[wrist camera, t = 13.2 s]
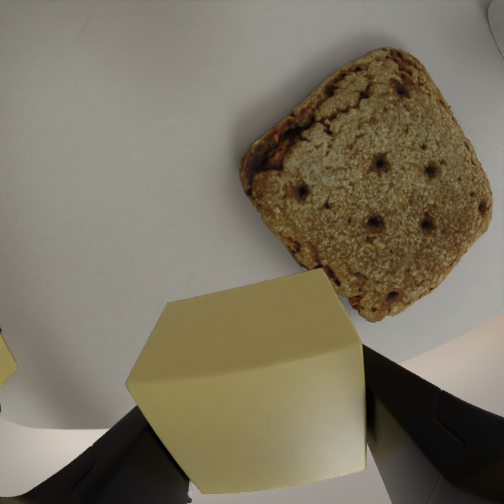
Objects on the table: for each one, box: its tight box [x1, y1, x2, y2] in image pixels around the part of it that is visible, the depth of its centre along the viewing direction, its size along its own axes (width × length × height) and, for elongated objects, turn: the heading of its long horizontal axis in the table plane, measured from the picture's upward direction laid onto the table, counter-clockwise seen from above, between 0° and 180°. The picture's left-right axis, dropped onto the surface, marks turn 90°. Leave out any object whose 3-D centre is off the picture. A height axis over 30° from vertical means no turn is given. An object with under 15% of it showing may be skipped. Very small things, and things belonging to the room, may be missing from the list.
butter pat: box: [126, 268, 367, 494], centre depth 7 cm, size 4×4×4 cm
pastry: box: [240, 47, 493, 322], centre depth 16 cm, size 17×17×3 cm
